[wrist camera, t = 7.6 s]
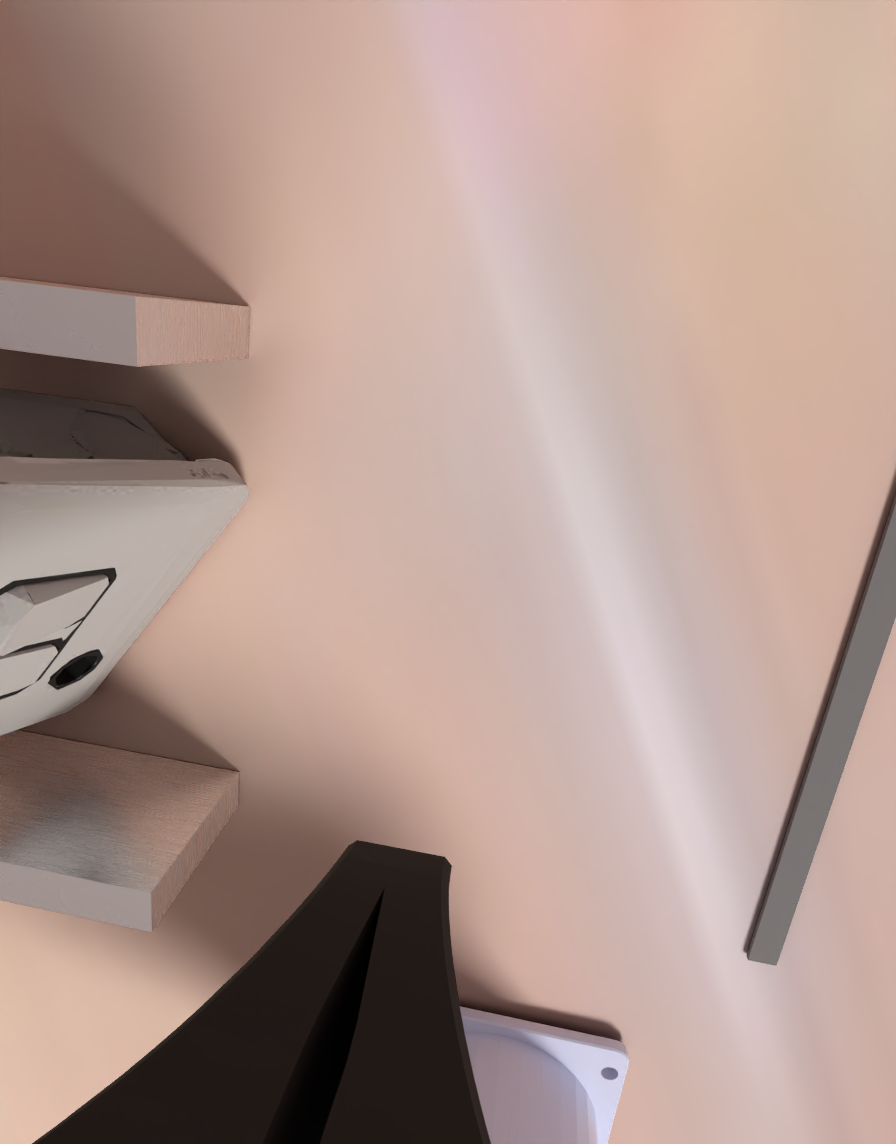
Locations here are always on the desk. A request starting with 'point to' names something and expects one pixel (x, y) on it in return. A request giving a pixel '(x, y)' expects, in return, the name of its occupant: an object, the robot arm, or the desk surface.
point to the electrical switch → (91, 542)
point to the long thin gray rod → (830, 749)
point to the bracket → (91, 772)
